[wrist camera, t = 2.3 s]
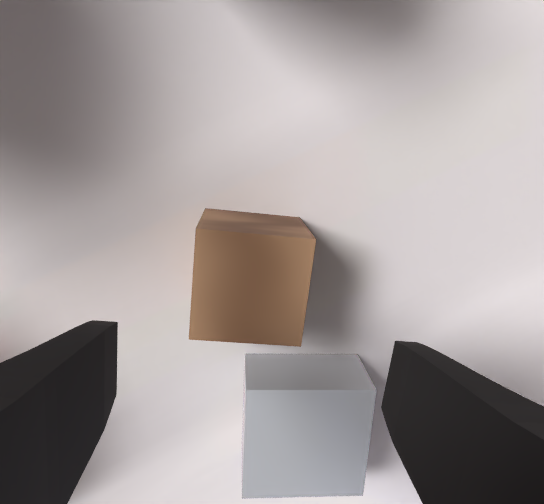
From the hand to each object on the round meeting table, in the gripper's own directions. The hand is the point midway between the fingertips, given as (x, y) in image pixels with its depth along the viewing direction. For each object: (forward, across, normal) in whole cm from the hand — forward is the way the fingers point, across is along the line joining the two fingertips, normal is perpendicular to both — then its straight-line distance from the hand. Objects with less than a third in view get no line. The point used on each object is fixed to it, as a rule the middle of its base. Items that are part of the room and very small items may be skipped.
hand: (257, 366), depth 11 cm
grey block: (+10, -4, +8) cm, 13 cm away
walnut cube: (+10, 0, 0) cm, 10 cm away
